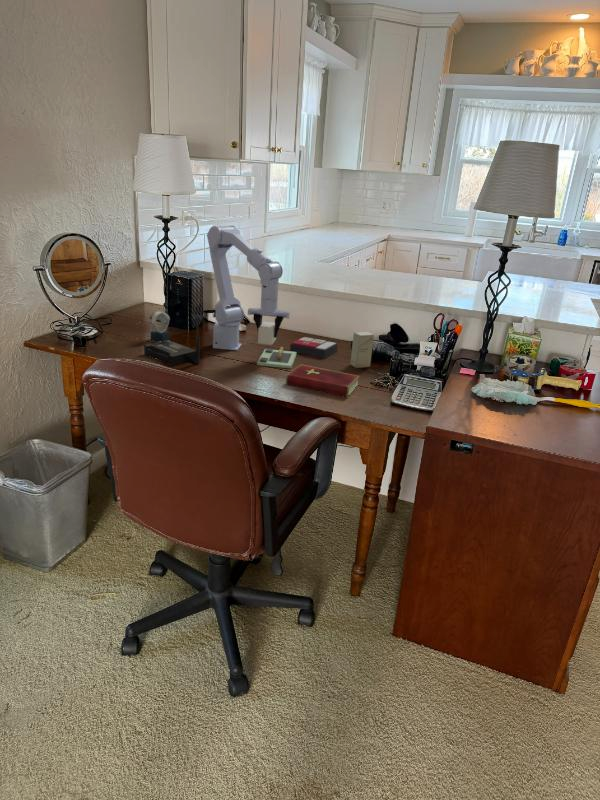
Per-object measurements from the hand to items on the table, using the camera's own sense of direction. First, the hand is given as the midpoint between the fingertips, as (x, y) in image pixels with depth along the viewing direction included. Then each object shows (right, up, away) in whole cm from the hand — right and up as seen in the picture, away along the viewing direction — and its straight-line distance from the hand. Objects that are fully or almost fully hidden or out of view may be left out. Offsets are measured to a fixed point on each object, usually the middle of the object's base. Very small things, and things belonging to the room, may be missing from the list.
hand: (267, 336), depth 197 cm
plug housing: (0, -1, 0) cm, 2 cm away
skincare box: (+33, -10, +5) cm, 35 cm away
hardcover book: (+19, -18, -15) cm, 30 cm away
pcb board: (+3, -8, +5) cm, 10 cm away
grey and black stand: (-33, -9, -1) cm, 34 cm away
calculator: (+17, -4, +17) cm, 24 cm away
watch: (-42, 0, +17) cm, 46 cm away
